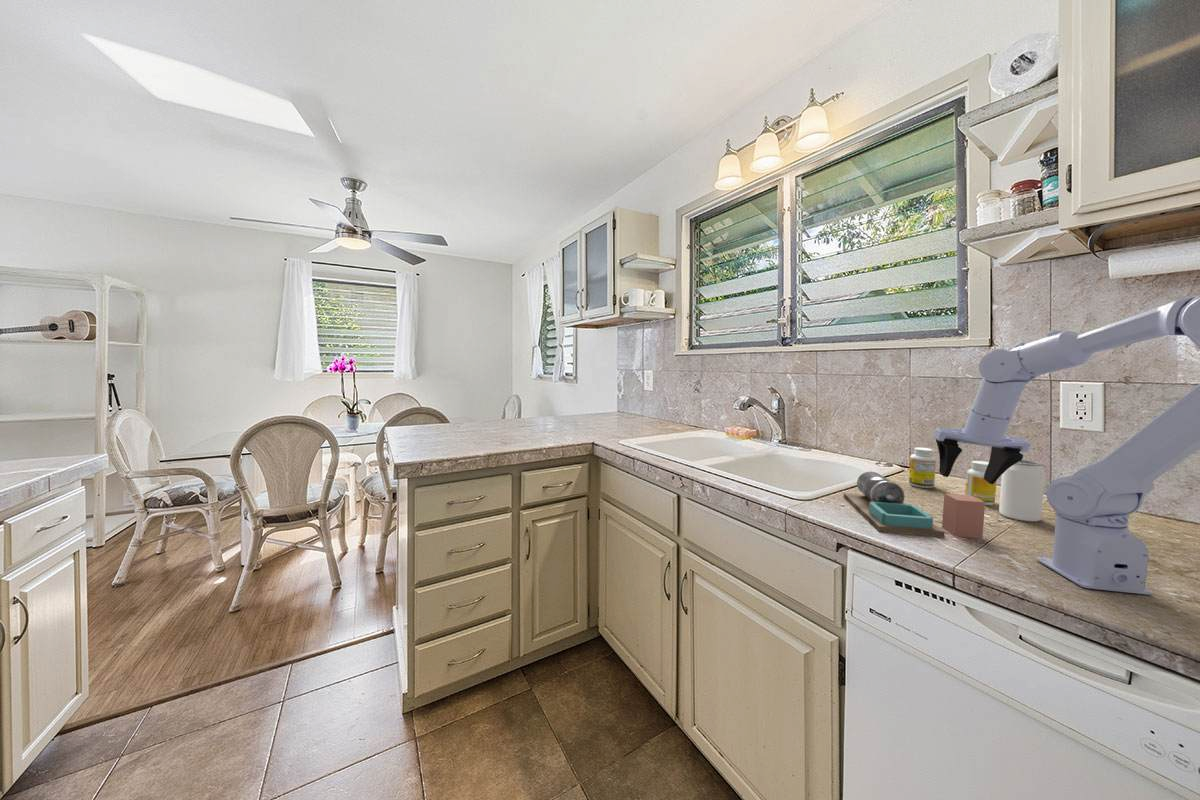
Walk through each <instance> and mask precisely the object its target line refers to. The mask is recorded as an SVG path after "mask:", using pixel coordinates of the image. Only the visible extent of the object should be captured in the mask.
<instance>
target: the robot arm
mask: <svg viewBox="0 0 1200 800" xmlns="http://www.w3.org/2000/svg"><path fill="white" fill-rule="evenodd" d="M1166 336H1186V337H1187V339H1189V340H1190V341H1191V342H1192V343H1193V344H1194V345H1195V346H1196V347H1197V348H1198V349H1199V350H1200V295H1198V296H1196V297H1195V296H1191V297H1186V298H1180V299H1176V300H1174V301H1172V302H1169V303H1166V304H1164V305H1161V306H1157V307H1155V308H1153V309H1150V310H1147V311H1145V312H1141V313H1138V314H1135V315H1133V316H1129V317H1126V318H1124V319H1120V320H1118V321H1116V322H1115V321H1114V322H1113V323H1110V324H1107V325H1104V326H1100V327H1098V328H1096V329H1093V330H1092V329H1091V330H1089V331H1086V332H1085V333H1078V332H1074V331H1072V330H1064V331H1063V330H1052V331H1049V332H1047V333H1046V337H1042V338H1040V339H1036V340H1033V341H1031V342H1030V341H1029V342H1020V343H1017V344H1016V343H1015V344H1014V348H1012V349H1011V350H1007V349H1003V348H999V349H998V348H997V349H996V348H995V349H993V350H992V351H990V352H987V353H985V354H984V356H983V357H982V358H981V359H980V361H979V362H978V371H979V374H980V376H981V377H982V378H981V381H980V383H979V384H980V385H979V386H978V389H977V392H976V394H975V397H974V400H973V403H972V406H971V409H970V411H969V414H968V417H967V420H966V422H965V425H964V427H963V428H941V427H936V428H935V430H934V433H933V436H932V437H933V438H934V439H935V442H936V445H937V449H938V455H939V471H938V473H939V474H941V476H942V477H944V478H949V476H950V474H951V472H952V469H953V468H954V464H955V462H956V460H957V459H958V458H959V456H960V454H961V453H962V452H963V449H962V448H961V447H959V443H964V444H968V445H969V444H970V445H977V446H984V447H991V449H990V455H989V460H988V462H989V464H988V466H987V468H986V471H985V474H984V479H985V480H986V481H987V482H988V483H989V484H994V483H995V481H996V480H999V478H1000V477H1002V474H1003V473H1004V472H1005V471H1006V470H1007V469H1008V468H1010V467H1011V466H1012V465H1014V464H1016V463H1017V462H1019V461H1021V460H1023V458H1024V454H1023V453H1028V452H1029V450H1030V447H1031V445H1032V443H1031V442H1029V441H1027V440H1026V439H1024V438H1019V437H1013V436H1008V435H1006V431H1007V430H1008V427H1009V425H1010V422H1011V419H1012V417H1013V414H1014V412H1015V410H1016V407H1017V405H1018V402H1019V400H1020V397H1021V395H1022V392H1023V391H1025V388H1026V386H1027V384H1028V383H1029V382H1031V381H1033V380H1035V379H1036V378H1037V377H1038V376H1041V375H1045V374H1050V373H1054V372H1057V371H1062V370H1065V369H1069V368H1073V367H1078V366H1082V365H1084V364H1086V363H1087V361H1089V360H1090V358H1091V356H1092V355H1093V354H1094V353H1095V354H1096V353H1099V352H1104V351H1107V350H1111V349H1114V348H1115V349H1116V348H1121V347H1123V346H1128V345H1129V346H1130V345H1132V344H1136V343H1141V342H1146V341H1149V340H1153V339H1157V338H1162V337H1166ZM1199 450H1200V383H1199V384H1197V385H1196V386H1195V387H1193V388H1192V389H1191V390H1190V391H1189V392H1187V393H1186V394H1185V395H1184V396H1182V397H1181V398H1180V399H1178V400H1177V401H1175V402H1174V403H1173V404H1172V405H1170V407H1168V408H1167V409H1166V410H1164V411H1163V412H1162V413H1161V414H1159V415H1158V416H1157V417H1155V418H1154V419H1152V421H1150V422H1149V423H1148V424H1147V425H1145V426H1144V427H1143V428H1141V429H1140V430H1139V431H1138V432H1136V433H1135V434H1133V435H1132V436H1131V437H1130V438H1128V439H1127V440H1126V441H1125V442H1124V443H1122V444H1121V445H1120V446H1119V447H1117V448H1116V449H1115V450H1113V451H1112V452H1111V453H1109V454H1108V455H1107V456H1106V457H1105V458H1103V459H1101V460H1099V461H1096V462H1094V463H1092V464H1089V465H1086V466H1084V467H1081V468H1079V469H1078V470H1077V471H1076V472H1074V473H1073V474H1070V475H1068V476H1063V477H1062V476H1061V477H1059V478H1056V479H1054V480H1052V481H1051V482H1050V483H1049V484H1048V486H1047V488H1046V492H1045V493H1046V494H1045V495H1046V499H1047V502H1048V504H1049V505H1050V507H1051V508H1052V509H1053V510H1054V511H1055V513H1054V515H1055V525H1054V527H1055V528H1054V537H1053V545H1052V546H1053V549H1052V558H1050V557H1042V556H1041V557H1040V556H1039V557H1038V556H1037V557H1036V561H1037V562H1039V563H1040V564H1043V565H1044V566H1045V567H1048V568H1049V569H1051V570H1052V571H1054V572H1056V573H1058V574H1060V575H1061V576H1063V577H1064V578H1067V579H1068V580H1070V581H1072V582H1073V583H1075V584H1077V585H1078V586H1080V587H1082V588H1085V589H1091V590H1092V589H1093V590H1099V591H1100V590H1102V591H1110V592H1119V593H1127V594H1129V593H1130V594H1138V595H1147V596H1148V595H1149V596H1150V595H1153V591H1151V590H1150V589H1148V588H1146V583H1147V582H1146V580H1147V573H1148V564H1149V554H1150V553H1149V549H1148V547H1147V545H1146V544H1145V543H1144V541H1143V540H1142V539H1140V538H1139V537H1137V536H1136V535H1134V534H1133V533H1132V531H1130V529H1129V518H1130V517H1129V515H1132V514H1134V513H1136V512H1137V511H1138V510H1139V509H1141V507H1142V506H1143V502H1144V499H1145V497H1146V496H1147V495H1148V494H1149V493H1152V491H1154V490H1155V488H1156V487H1155V484H1154V483H1155V480H1157V479H1158V478H1160V477H1162V476H1163V475H1165V474H1166V473H1167V472H1169V471H1170V470H1171V469H1173V468H1174V467H1176V466H1177V465H1179V464H1180V463H1182V462H1183V461H1184V460H1186V459H1187V458H1189V457H1190V456H1192V455H1193V454H1195V453H1196V452H1197V451H1199Z"/></svg>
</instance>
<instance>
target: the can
mask: <svg viewBox="0 0 1200 800" xmlns="http://www.w3.org/2000/svg"><path fill="white" fill-rule="evenodd" d="M1043 466H1044V464H1043V463H1040V462H1037V461H1032V460H1024V459H1022V460H1021V461H1019V462H1017V463H1016V464H1014V465H1012V466H1011V467H1010V468H1008V469H1007V470H1006V471H1005V472H1004V473H1003V474H1002V475H1001V481H1000V494H999V508H998V512H999V514H1000V515H1001V516H1002V517H1005V518H1008V519H1010V520H1014V521H1020V522H1028V523H1037V522H1040V521H1041V520H1042V515H1043V514H1042V513H1043V502H1044V492H1045V480H1046V471H1045V469H1044V467H1043Z"/></svg>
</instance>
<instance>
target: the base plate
mask: <svg viewBox="0 0 1200 800" xmlns="http://www.w3.org/2000/svg"><path fill="white" fill-rule="evenodd" d="M843 498H844V499H845V500H846V501H847V502H848V503H849V504H850V505H851V506H852V507H853V508H854V509H856V511H858V513H859V514H860V515H861V516H862V517H864V519H866V521H868V522H869V524H871V525H872V526H873V527H874V528H875V529H876V530H877V531H878V532H883V533H884V532H885V533H894V534H907V535H916V536H917V535H918V536H929V537H940V538H945V533H946V532H945V531H944V529H943V530H942V529H941V528H940V527H938V526H937V524H934V523H933V524H932V529H927V528H915V527H903V526H891V525H886V524H884V523H881V522H880V521H879V520H877V519H876V518H875V517H874V516H873V515H872V514H871V513H870V512H869V503H870V501H871V500H870V499H869V498H867V497H866V496H865V495H864V494H863V493H851V492H850V493H848V492H843ZM871 502H872V501H871ZM902 504H905V502H903V503H902ZM887 514H892V513H887ZM897 515H905V514H897ZM910 516H911V515H910Z"/></svg>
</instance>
